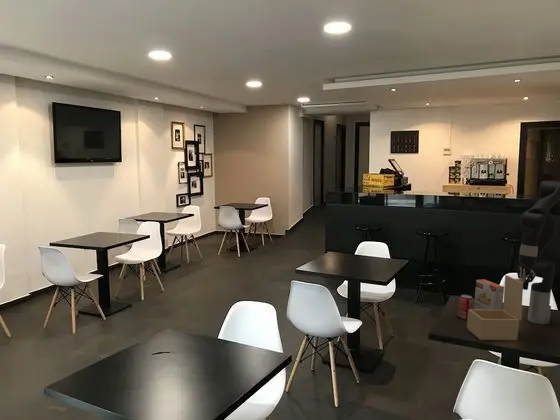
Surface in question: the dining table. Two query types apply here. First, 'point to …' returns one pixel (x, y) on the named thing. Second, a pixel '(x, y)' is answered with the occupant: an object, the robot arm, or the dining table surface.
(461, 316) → the soda can
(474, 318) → the carton
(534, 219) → the robot arm
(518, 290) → the lid flap
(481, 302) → the cracker box
